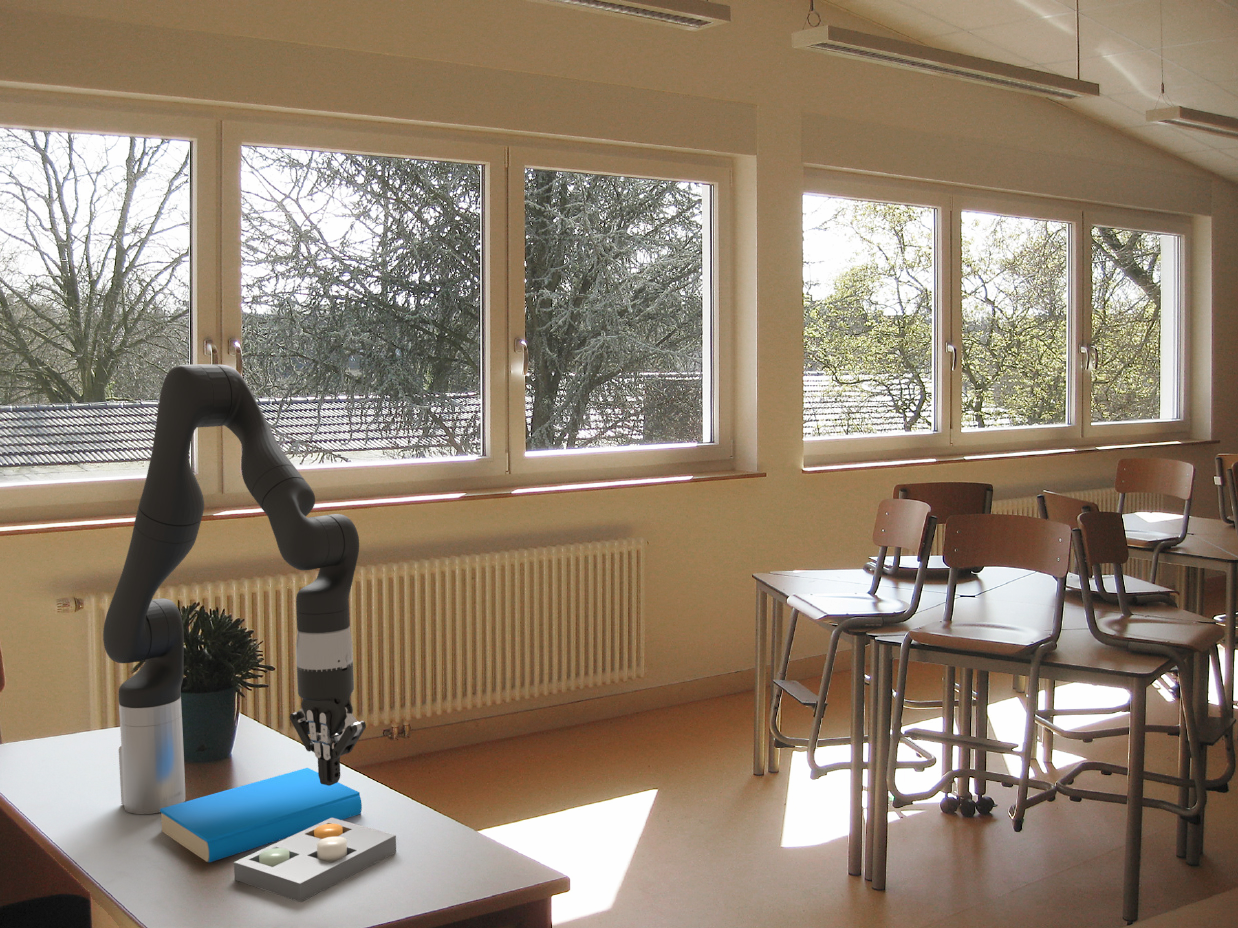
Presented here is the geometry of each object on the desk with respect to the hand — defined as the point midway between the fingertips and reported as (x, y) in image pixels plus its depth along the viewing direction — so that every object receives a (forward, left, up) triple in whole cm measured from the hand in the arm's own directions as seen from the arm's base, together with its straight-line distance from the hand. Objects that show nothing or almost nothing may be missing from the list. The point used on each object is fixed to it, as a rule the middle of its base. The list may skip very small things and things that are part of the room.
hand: (329, 783), depth 157 cm
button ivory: (0, 0, -11) cm, 11 cm away
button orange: (-6, +5, -12) cm, 14 cm away
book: (-22, +7, -13) cm, 27 cm away
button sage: (-6, -5, -12) cm, 14 cm away
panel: (-3, 0, -13) cm, 13 cm away
